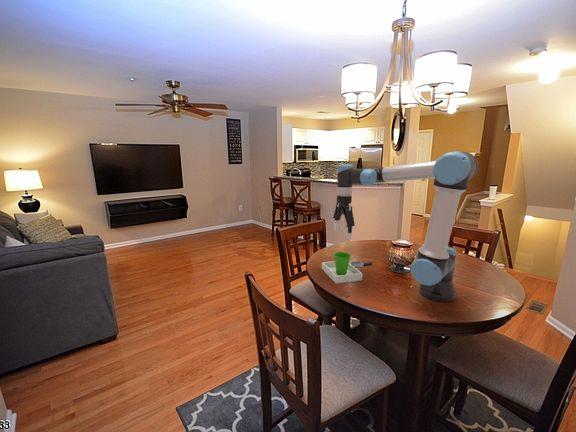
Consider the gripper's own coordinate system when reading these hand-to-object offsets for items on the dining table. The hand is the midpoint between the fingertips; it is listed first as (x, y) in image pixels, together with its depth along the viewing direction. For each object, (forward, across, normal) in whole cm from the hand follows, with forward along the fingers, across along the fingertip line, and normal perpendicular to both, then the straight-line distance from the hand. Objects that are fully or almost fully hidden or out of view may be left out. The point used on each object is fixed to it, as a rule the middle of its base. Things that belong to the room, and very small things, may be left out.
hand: (342, 235), depth 149 cm
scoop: (+22, +9, -17) cm, 30 cm away
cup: (+22, 0, 0) cm, 22 cm away
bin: (+22, 0, 0) cm, 22 cm away
